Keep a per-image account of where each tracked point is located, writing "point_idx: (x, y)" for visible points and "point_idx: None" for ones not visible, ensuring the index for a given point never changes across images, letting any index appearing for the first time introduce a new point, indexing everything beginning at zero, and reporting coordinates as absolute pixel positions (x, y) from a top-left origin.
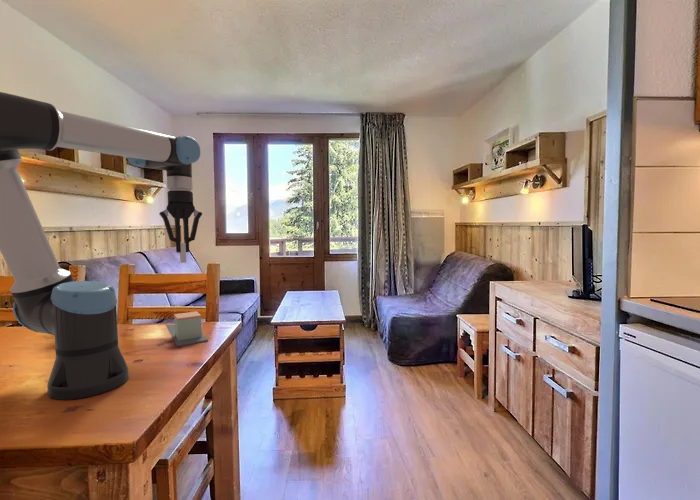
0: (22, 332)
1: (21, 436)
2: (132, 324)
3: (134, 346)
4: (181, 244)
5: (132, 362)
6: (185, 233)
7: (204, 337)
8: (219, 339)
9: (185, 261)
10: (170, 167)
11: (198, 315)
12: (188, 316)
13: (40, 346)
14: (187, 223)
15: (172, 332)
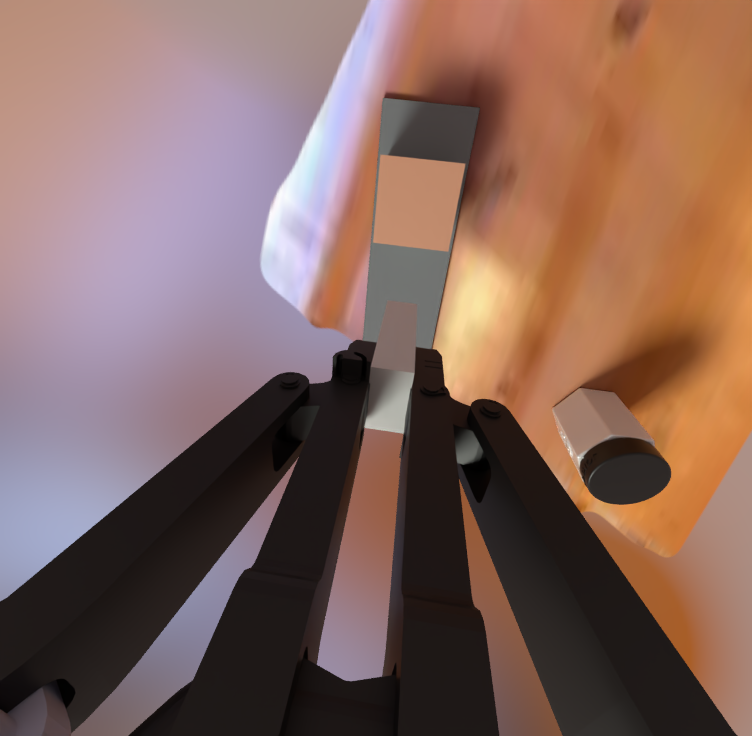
0: (672, 511)
1: None
2: None
3: (564, 213)
4: (407, 364)
5: (648, 11)
6: (350, 429)
7: (384, 137)
8: (347, 93)
9: (392, 303)
10: None
11: (388, 159)
12: (422, 171)
13: (709, 382)
14: (278, 543)
15: (440, 272)
